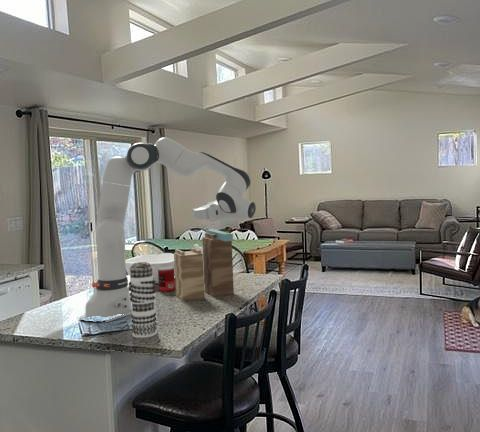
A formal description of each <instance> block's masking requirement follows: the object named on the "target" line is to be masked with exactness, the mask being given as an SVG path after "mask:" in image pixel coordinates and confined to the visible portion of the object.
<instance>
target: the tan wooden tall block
mask: <svg viewBox="0 0 480 432" xmlns="http://www.w3.org/2000/svg"><path fill="white" fill-rule="evenodd" d="M173 254H174V267H175V276H174V279H175V296H176V297H177V298H178V299H180V300H181V301H183V302H184V301H185V302H186V301H193V300H199V299H205V298H206V297H205V284H204V273H203V254H202V253H201V251H200V250H198V249H197V248H195V247H190V250H188V251H183V250H180V249H178V248H175V250H174V252H173Z"/></svg>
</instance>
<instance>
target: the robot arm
mask: <svg viewBox="0 0 480 432" xmlns="http://www.w3.org/2000/svg"><path fill="white" fill-rule="evenodd" d="M155 164H160V165H163V166H164V167H166V168H167V169H168V170H170V171H171V172H173V173H174V174H176V175H178V176H179V177H190V176H193V175H195V174H197V173H198V172H200V171H202V170H207V169H209V170H211V171H212V172H214V173H216V174H219V175H221V176H223V177H224V178H225V181H224V182H223V183H222V185H221V186H220V188H219V189H218V190H217V192H216V194H215V199H216V200H215V199H214V201H209V202H205V203H204V205H202V206H200V207H193V208H191V210H190V211H191V213H192V214H193V217H194V219H197V220H205V221H206V220H209V221H210V222H215V221H218V220H224V219H225V220H231V219H232V220H236V221H237V220H238V221H247V220H251V219H252V218H253V217H254V214H255V213H256V207H257V206H256V203H255V202H254V201H252V200H247V199H246V198H244V197H243V196H244V194H245V192H246V191H247V190H248V189H249V187H250V186H251V178H250V176H249V174H248V173H247V172H246V171H245V170H243V169H240V168H238V167H234V166H232V165H230V164H228V163H226V162H225V161H222V160H221V159H219V158H217V157H215V156H213V155H210V153H209V154H208V153H206V152H203V151H200V152H196V151H193V150H190V149H188V148H187V147H185V146H183V145H182V144H181V143H179V142H177V141H175V140H173V139H171V138H170V137H165V136H164V137H160V138H159V139H158V140H156V142H155V143H146V142H136V143H134V144H132V145H131V146H130V147H129V148H128V149H127V152H126V155H125V156H113V157H111V158H109V159H108V161H107V163H106V165H105V169H104V173H103V178H102V183H101V184H102V186H101V192H100V198H99V205H98V213H97V219H96V225H95V226H96V227H95V240H96V255H97V257H96V258H97V273H98V276H97V277H98V279H97V281H96V282H92V283H91V287H92V288H95V289H96V290H95V291H94V292H93V293H92V295H91V296H90V298H89V299H88V300H87V301H86V303H85V309H84V310H85V313H84V314H83V315H81V316H80V317H79V321H81V317H92V316H101V317H107V316H113V315H117V314H122V315H121V316H118V317H115V318H112V319H109V320H104V321H105V322H104V323H109V322H112V321H114V320H118V319H120V318H124V317H127V316H130V315H132V303H131V301H130V297H131V296H130V293H131V292H130V290H129V280H128V276H127V270H126V263H125V260H126V240H125V239H126V238H125V237H126V236H125V235H126V233H125V220H126V217H127V216H126V215H127V209H128V203H129V198H130V197H129V196H130V191H131V183H132V178H133V175H134V173H138V172H145V171H148V170H149V169H151V168H152V167H153V166H154V165H155ZM123 314H124V315H123ZM82 319H83V318H82Z"/></svg>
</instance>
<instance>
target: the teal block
mask: <svg viewBox="0 0 480 432" xmlns="http://www.w3.org/2000/svg"><path fill="white" fill-rule="evenodd" d="M205 233H210V234H214V235H216V239H219V240H222V241H232V242H233V241H234V233H231V232H228V231H227V232H226V231H221V230H217V229H214V228H211V229H206V230H205Z"/></svg>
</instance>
